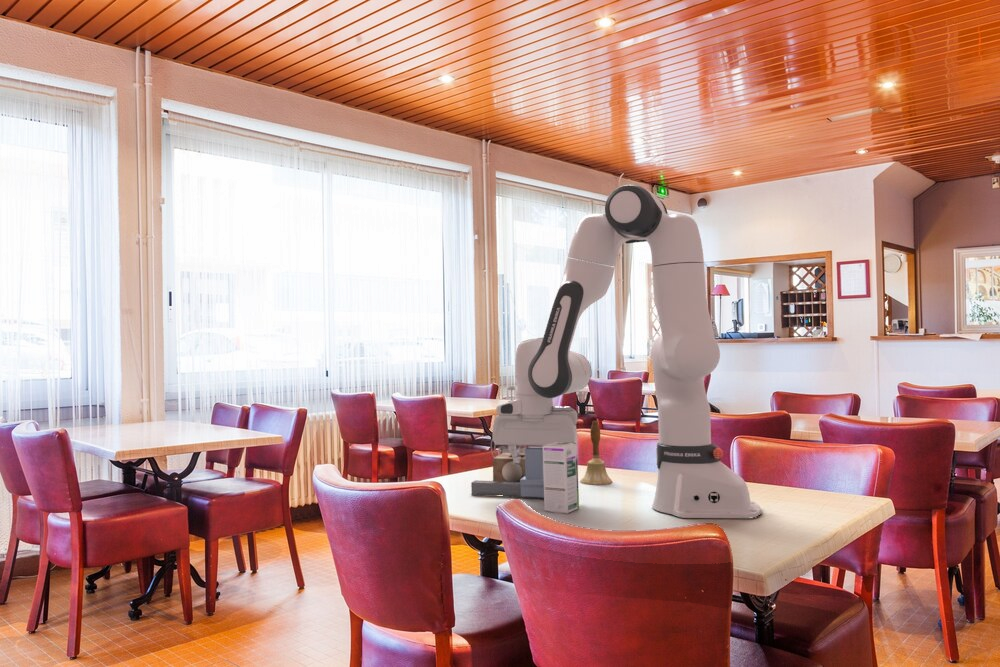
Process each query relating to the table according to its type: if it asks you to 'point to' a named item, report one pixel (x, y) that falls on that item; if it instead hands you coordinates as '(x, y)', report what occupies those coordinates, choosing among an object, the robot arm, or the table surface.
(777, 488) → the table surface
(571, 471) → the syrup box
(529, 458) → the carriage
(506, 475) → the brown wooden block
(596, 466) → the hand bell
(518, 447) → the red capped bottle
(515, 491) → the rail
